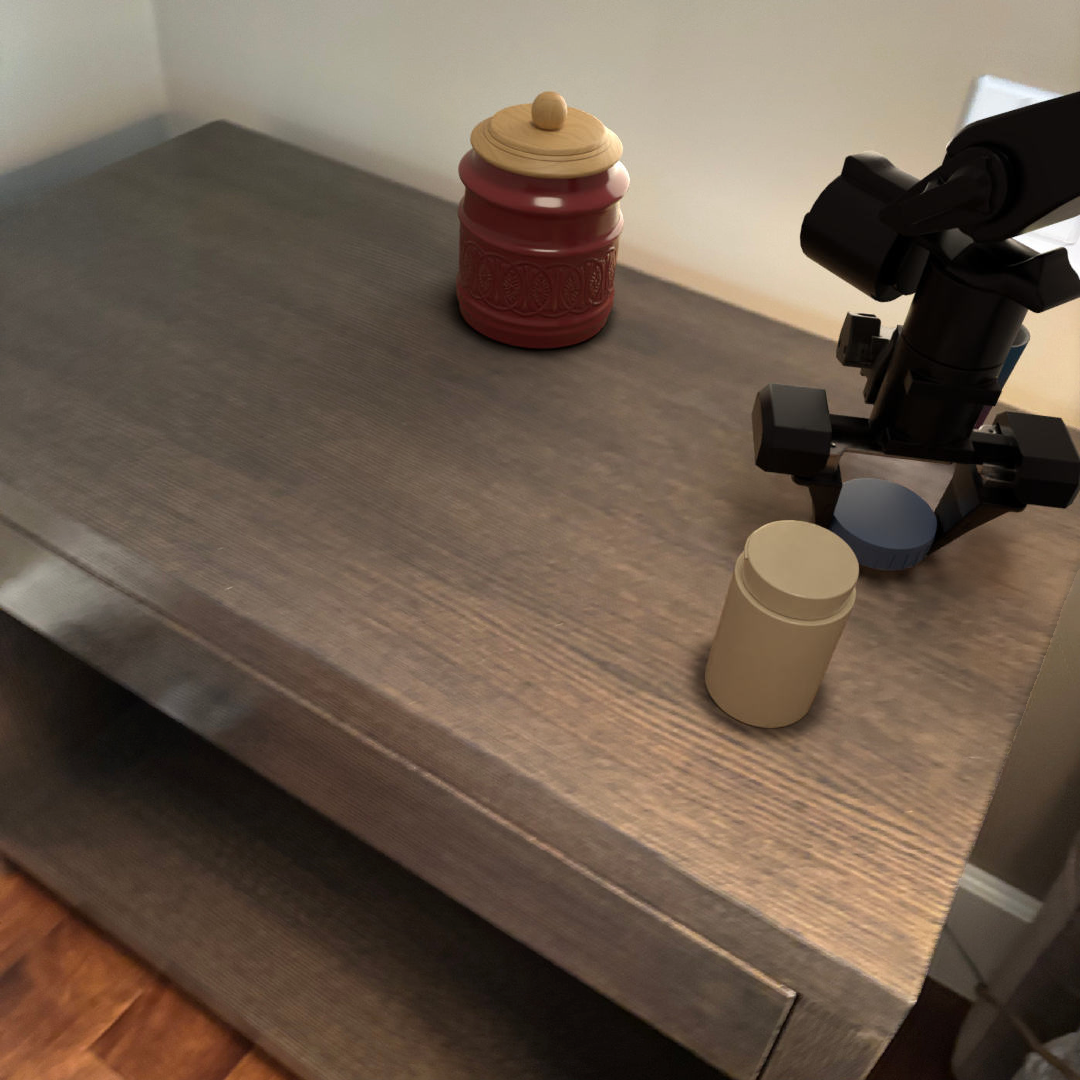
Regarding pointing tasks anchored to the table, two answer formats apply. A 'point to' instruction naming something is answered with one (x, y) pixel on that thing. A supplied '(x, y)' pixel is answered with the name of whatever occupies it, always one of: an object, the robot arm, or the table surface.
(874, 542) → the lid
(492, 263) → the kitchen canister
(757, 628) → the jar
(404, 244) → the table surface
